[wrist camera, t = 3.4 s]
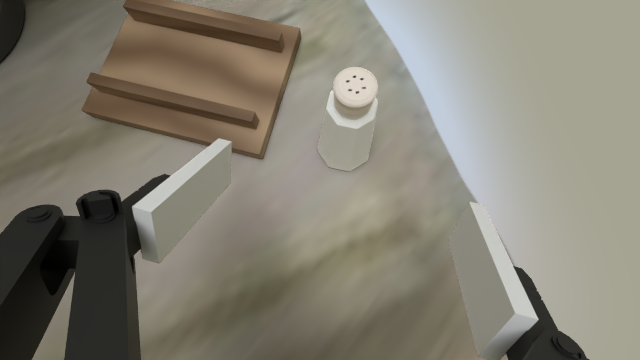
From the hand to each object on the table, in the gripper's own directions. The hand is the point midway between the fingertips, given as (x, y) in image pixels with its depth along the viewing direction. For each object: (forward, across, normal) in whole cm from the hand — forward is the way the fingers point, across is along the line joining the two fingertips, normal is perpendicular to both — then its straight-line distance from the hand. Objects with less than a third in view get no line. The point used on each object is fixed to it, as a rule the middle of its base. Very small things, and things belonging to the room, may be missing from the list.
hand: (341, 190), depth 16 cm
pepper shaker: (+13, -1, -3) cm, 13 cm away
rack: (+15, -17, -1) cm, 23 cm away
